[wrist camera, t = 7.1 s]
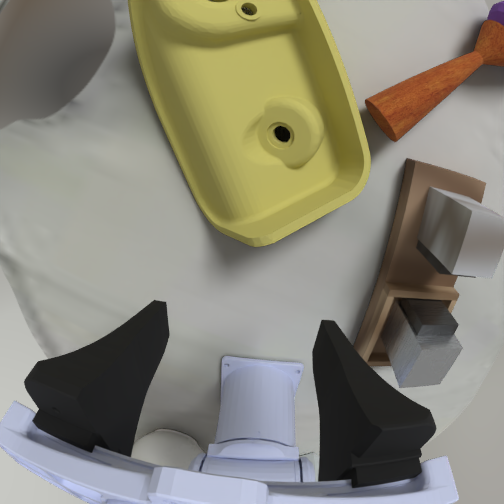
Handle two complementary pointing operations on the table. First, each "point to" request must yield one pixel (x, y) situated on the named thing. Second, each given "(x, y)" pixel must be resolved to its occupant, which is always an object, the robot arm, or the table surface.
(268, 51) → the plastic component
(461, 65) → the kendama
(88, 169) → the table surface
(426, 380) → the grey metal block
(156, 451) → the brown curved strip
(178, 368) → the table surface
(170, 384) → the table surface
